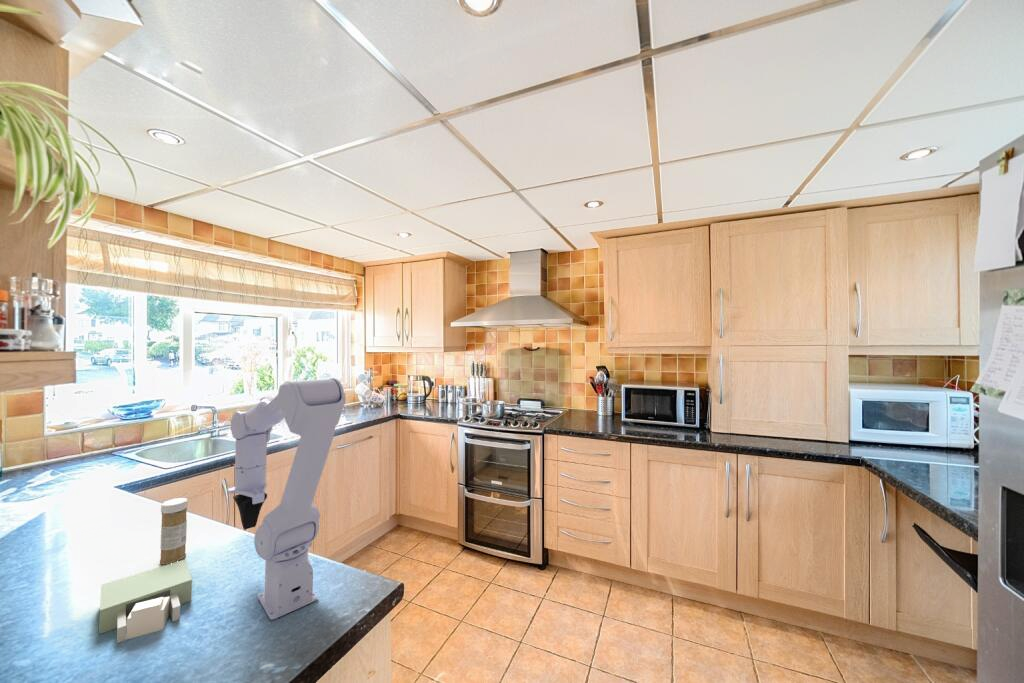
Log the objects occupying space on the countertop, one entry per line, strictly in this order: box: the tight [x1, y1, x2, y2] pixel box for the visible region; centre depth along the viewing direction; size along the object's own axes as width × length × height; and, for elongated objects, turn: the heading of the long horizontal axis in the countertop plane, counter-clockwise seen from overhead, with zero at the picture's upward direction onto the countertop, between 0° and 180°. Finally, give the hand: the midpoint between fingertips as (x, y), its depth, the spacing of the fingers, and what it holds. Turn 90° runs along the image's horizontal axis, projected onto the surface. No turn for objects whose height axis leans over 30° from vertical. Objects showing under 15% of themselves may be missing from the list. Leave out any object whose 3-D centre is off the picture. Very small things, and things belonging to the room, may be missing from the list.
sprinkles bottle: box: [159, 497, 189, 565], centre depth 86 cm, size 5×5×13 cm
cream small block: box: [125, 596, 170, 641], centre depth 66 cm, size 4×5×4 cm
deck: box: [98, 559, 193, 644], centre depth 70 cm, size 15×12×4 cm
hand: (249, 527), depth 83 cm, fingers closed
